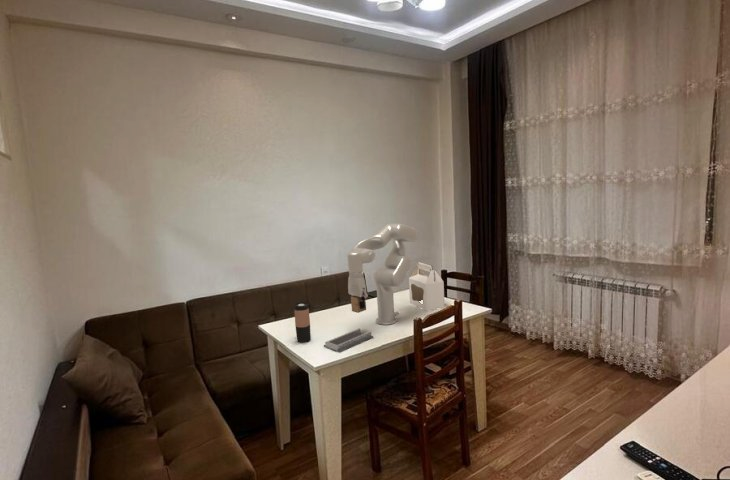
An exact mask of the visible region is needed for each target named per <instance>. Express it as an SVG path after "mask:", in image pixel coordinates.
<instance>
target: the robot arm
mask: <svg viewBox="0 0 730 480" xmlns="http://www.w3.org/2000/svg"><path fill="white" fill-rule="evenodd" d="M418 238H419V232H418V230H417V229H416V228H415V227H412V226H409V225H407V224H403V223H387V224H385V225H384V226H383V227H382V228H380V230H379V231H377V232H376V233H375V234H374V235H373V236H370V237H368V238H366V239H364V240H362V241H360V242H359V243H357V244H356V245H355V246H354V247H353V248H352V249H351V251H350V252H348V253H347V266H348V274H349V275H348V278H347V289H348V290H347V291H348V295H349V296H350V298H351V297H352V296H357V297H359V298H360V309H363V308H365V300H366V299H367V298H369V294H368V293H367V285H366V281H365V277H364V268H363V267H364V265H363V264H369V263H372V262H373V261H374V260H375V258H376V253H375V252H374V251H375V250H379V249H383V248H385V247H386V246H387V245H388V243H390V241H392V248H391V250H390V252H389V253H388V255H387V257H386V259H384V260H385V261H384V267H381V268H378V269H376V271H375V272H374V275H373V276H374V283H375V287H376V301H377V318H375V323H376V324H377V325H382V326H384V325H386V326H390V325H393V324H396V323H397V322H398V318H397V316H398V315H400V312H399V311H395V301H394V290H393V289H394V288H393V287H396V288H397V287H400V286H401V285H402V284H403V283H404V280H405V279H406V277H407V275H408V273H409V271H410V269H411V267H412V259H411V258H410V257H409V256H407V255H406V253H407V249H406V246H405V242H406V243H414V242H415V241H417V240H418ZM362 297H363V298H362Z"/></svg>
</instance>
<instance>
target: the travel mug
mask: <svg viewBox="0 0 730 480" xmlns="http://www.w3.org/2000/svg"><path fill="white" fill-rule="evenodd" d="M293 309H294V310H293V311H294V323H295V325H294V326H295V332H296V333H295V334H296V342H297V343H299V344H306V343H309V342H311V340H312V339H311V337H312V335H311V318H310V306H309V302H307V301H301V302H300V301H299V302H296V303H294V304H293Z"/></svg>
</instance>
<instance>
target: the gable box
mask: <svg viewBox="0 0 730 480" xmlns="http://www.w3.org/2000/svg"><path fill="white" fill-rule="evenodd" d="M424 271H426V272H428V275H426V274H425V272H424ZM444 282H445V281H444V280H443V279H442V277H441V276H440V275H439V273H438V272H437V271H436V270H434V269H433V265H431V264H428V263H425V262H421V261H418V263H416V267H414V270H413V271H412V273H411V274H410V276H409V277H408V287H409V288H408V289H409V304H411V305H413V306H415V307H417V306H418V307H417V308H419V307H420V308H419V309H421V308H422V309H421V310H423V309H424V310H423V311H425V310H426V311H425V312H429V311H428V310H431V311H434V310H433V309H436V310H438V309H437V308H441V309H445V288H444V287H445V284H444ZM421 300H423V304H421V303H420V302H419V301H421ZM441 309H440V310H441Z"/></svg>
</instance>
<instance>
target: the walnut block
mask: <svg viewBox="0 0 730 480" xmlns="http://www.w3.org/2000/svg"><path fill="white" fill-rule="evenodd" d="M362 298H363V297H362ZM350 305H351V312H353V313H358V314H359V313H362V312H364V311H366V310H367V304H366V299H365V308H363V309H360V298H359V297H357V296H352V297H351V296H350Z"/></svg>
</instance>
